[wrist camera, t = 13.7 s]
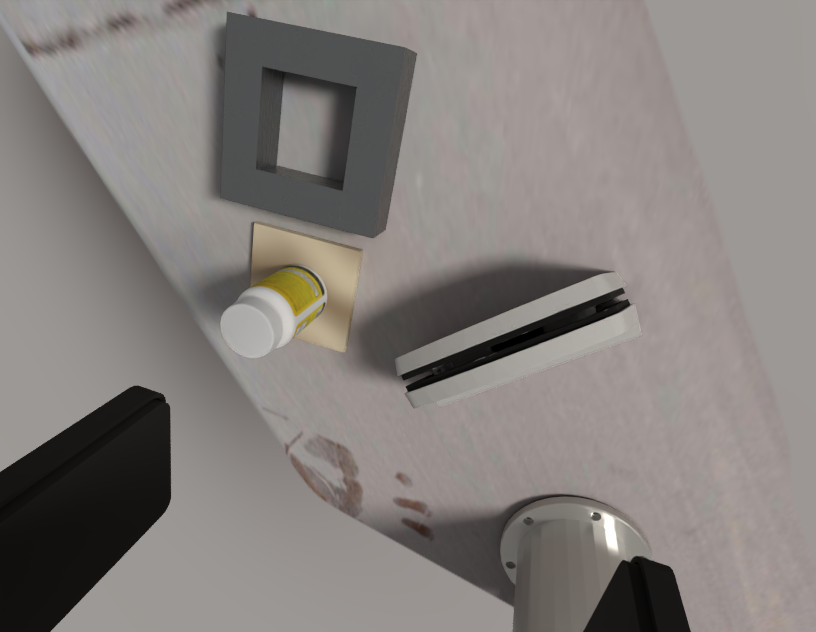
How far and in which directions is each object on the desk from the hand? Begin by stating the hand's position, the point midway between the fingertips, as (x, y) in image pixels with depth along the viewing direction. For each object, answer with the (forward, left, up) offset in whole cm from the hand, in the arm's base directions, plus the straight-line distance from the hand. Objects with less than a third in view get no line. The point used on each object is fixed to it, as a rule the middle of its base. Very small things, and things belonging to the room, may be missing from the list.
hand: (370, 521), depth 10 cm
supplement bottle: (-9, +14, -28) cm, 32 cm away
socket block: (+4, +14, -28) cm, 32 cm away
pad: (-9, +14, -28) cm, 33 cm away
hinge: (-7, -3, -29) cm, 30 cm away
